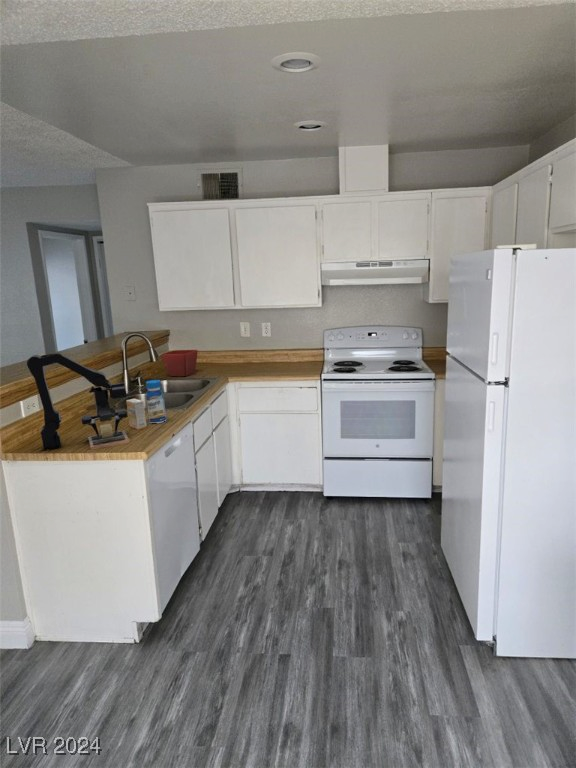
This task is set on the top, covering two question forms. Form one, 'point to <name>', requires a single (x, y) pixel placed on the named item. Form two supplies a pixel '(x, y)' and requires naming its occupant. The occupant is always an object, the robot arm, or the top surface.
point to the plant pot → (180, 362)
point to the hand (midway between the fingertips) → (107, 435)
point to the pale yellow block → (106, 431)
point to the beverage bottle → (155, 402)
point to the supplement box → (136, 413)
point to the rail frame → (108, 440)
